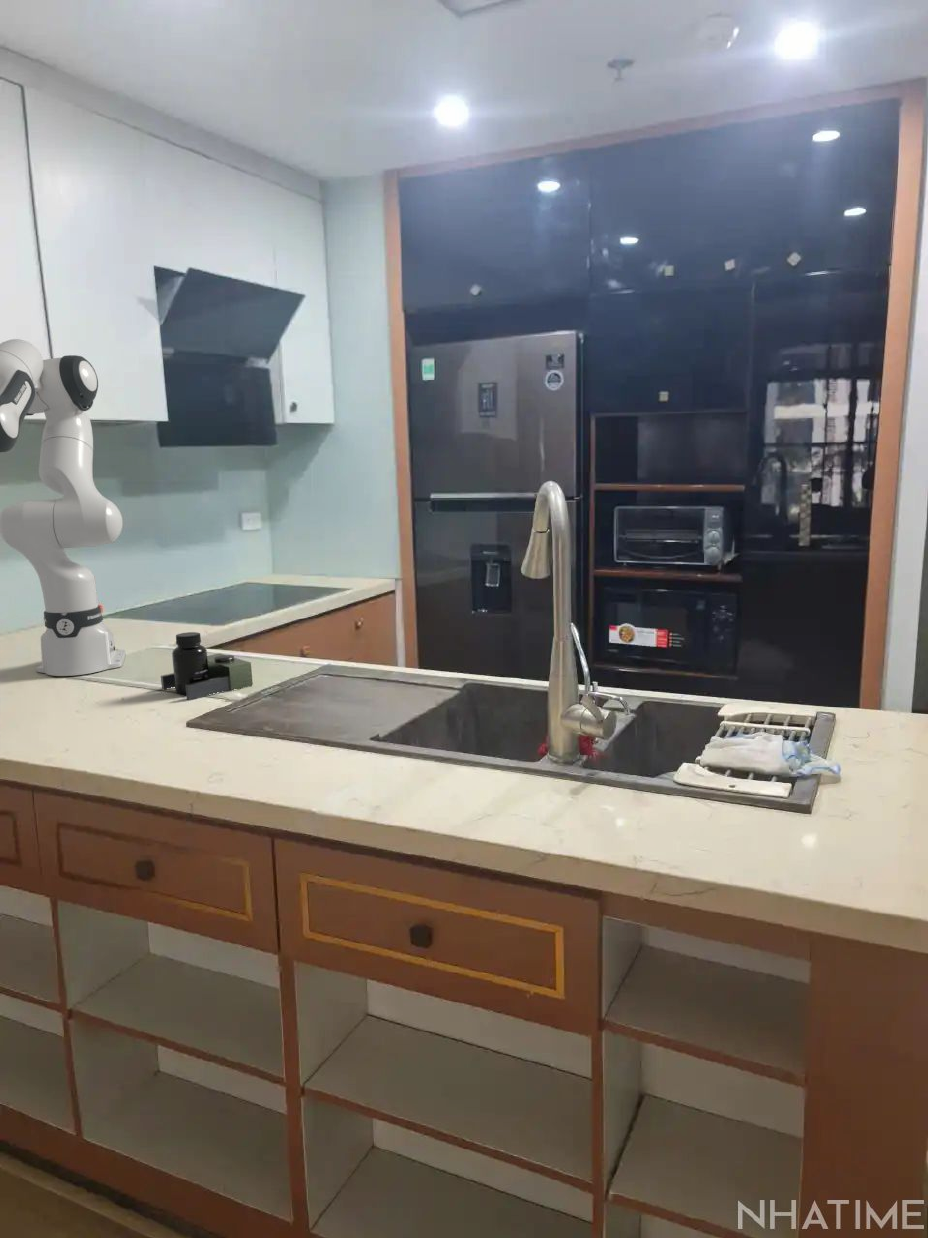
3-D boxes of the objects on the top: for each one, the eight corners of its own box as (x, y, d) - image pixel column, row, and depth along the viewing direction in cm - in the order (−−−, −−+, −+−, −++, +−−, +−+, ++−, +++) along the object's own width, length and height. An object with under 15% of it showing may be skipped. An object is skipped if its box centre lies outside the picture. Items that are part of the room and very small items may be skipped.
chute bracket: (190, 700, 174) (187, 673, 173) (160, 689, 183) (158, 663, 182) (252, 685, 183) (250, 659, 182) (221, 675, 193) (219, 650, 191)
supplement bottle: (205, 695, 178) (200, 637, 175) (171, 696, 177) (165, 638, 175) (213, 686, 184) (208, 630, 182) (180, 687, 184) (175, 631, 182)
